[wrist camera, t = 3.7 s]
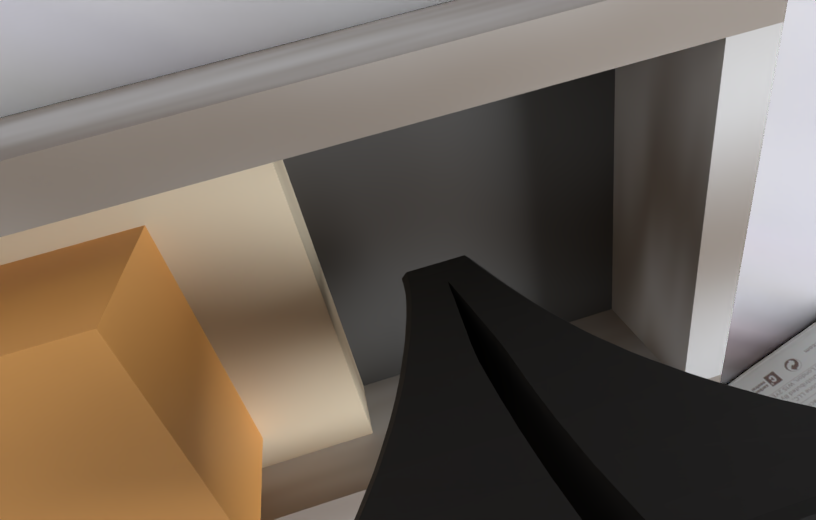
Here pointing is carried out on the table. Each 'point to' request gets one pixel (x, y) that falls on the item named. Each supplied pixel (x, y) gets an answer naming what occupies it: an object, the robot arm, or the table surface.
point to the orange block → (116, 394)
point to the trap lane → (419, 196)
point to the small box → (786, 371)
